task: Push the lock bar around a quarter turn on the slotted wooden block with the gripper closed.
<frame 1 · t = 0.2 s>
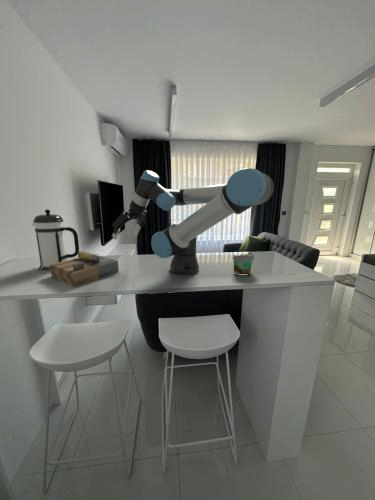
hand: (124, 236, 112), 16 cm above the table, tool tilted 35°, fingers open, 13 cm apart
food container: (244, 274, 107), on the table
coffee press: (58, 267, 112), on the table
slotted wooden block: (86, 274, 102), on the table
lock bar: (88, 256, 103), point 8 cm above the table, hinge at 0.0°
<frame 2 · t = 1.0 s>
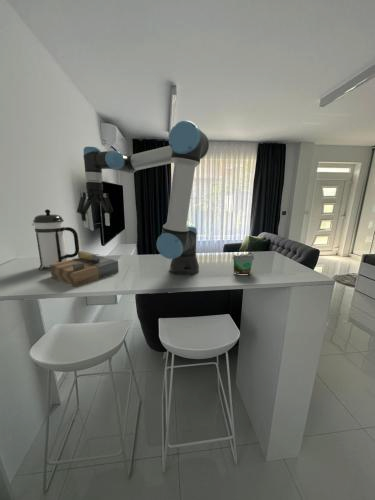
hand: (97, 226, 108), 22 cm above the table, tool pointing down, fingers open, 11 cm apart
nothing on the table moved.
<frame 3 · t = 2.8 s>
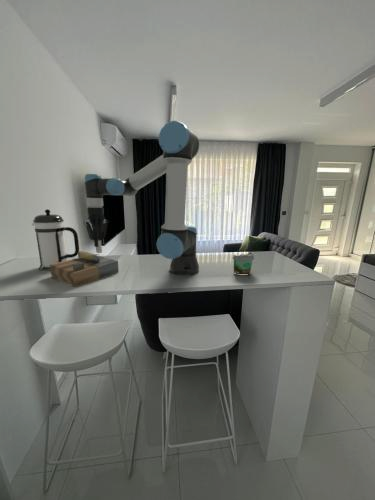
hand: (99, 252, 111), 8 cm above the table, tool pointing down, fingers closed
nothing on the table moved.
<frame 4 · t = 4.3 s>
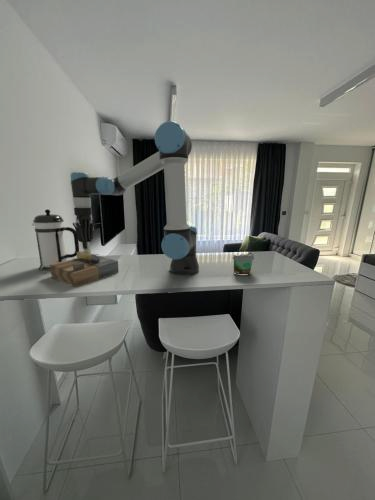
hand: (87, 254, 107), 8 cm above the table, tool pointing down, fingers closed
lock bar: (88, 256, 103), point 8 cm above the table, hinge at 3.1°, touching gripper
everything else where it was.
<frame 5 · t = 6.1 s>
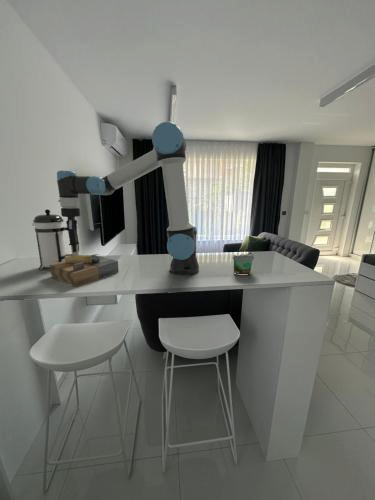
hand: (75, 257, 101), 8 cm above the table, tool pointing down, fingers closed
lock bar: (82, 258, 99), point 8 cm above the table, hinge at 43.3°, touching gripper
everything else where it was.
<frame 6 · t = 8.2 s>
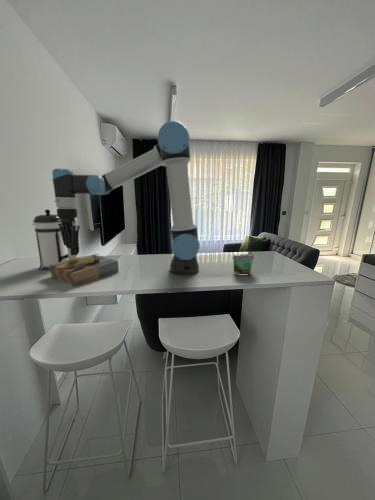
hand: (72, 261, 95), 8 cm above the table, tool pointing down, fingers closed
lock bar: (83, 260, 96), point 8 cm above the table, hinge at 81.5°, touching gripper
everything else where it was.
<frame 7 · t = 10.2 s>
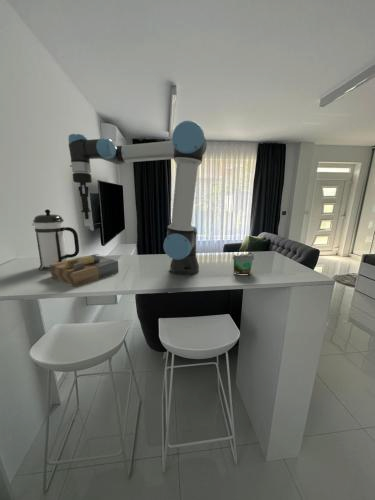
hand: (87, 225, 100), 23 cm above the table, tool pointing down, fingers closed
lock bar: (83, 260, 96), point 8 cm above the table, hinge at 81.5°
everything else where it was.
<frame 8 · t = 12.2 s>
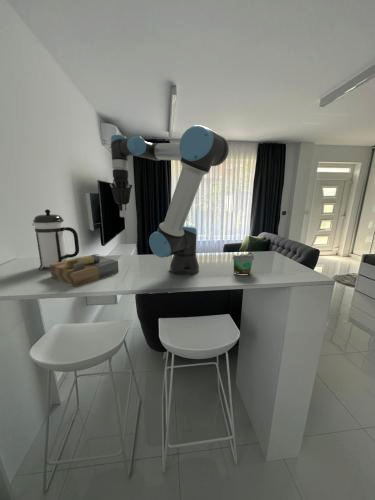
hand: (122, 216, 112), 26 cm above the table, tool pointing down, fingers closed
nothing on the table moved.
at the end: lock bar at +82° (first picture: +0°) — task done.
